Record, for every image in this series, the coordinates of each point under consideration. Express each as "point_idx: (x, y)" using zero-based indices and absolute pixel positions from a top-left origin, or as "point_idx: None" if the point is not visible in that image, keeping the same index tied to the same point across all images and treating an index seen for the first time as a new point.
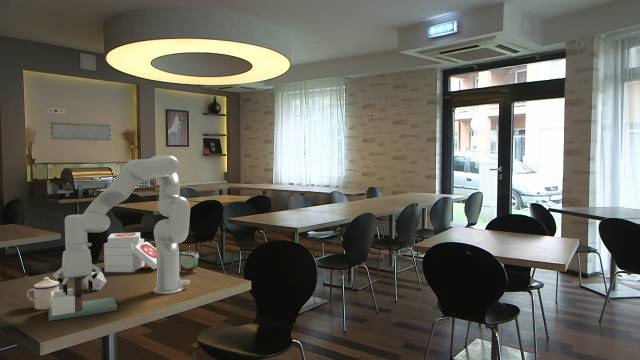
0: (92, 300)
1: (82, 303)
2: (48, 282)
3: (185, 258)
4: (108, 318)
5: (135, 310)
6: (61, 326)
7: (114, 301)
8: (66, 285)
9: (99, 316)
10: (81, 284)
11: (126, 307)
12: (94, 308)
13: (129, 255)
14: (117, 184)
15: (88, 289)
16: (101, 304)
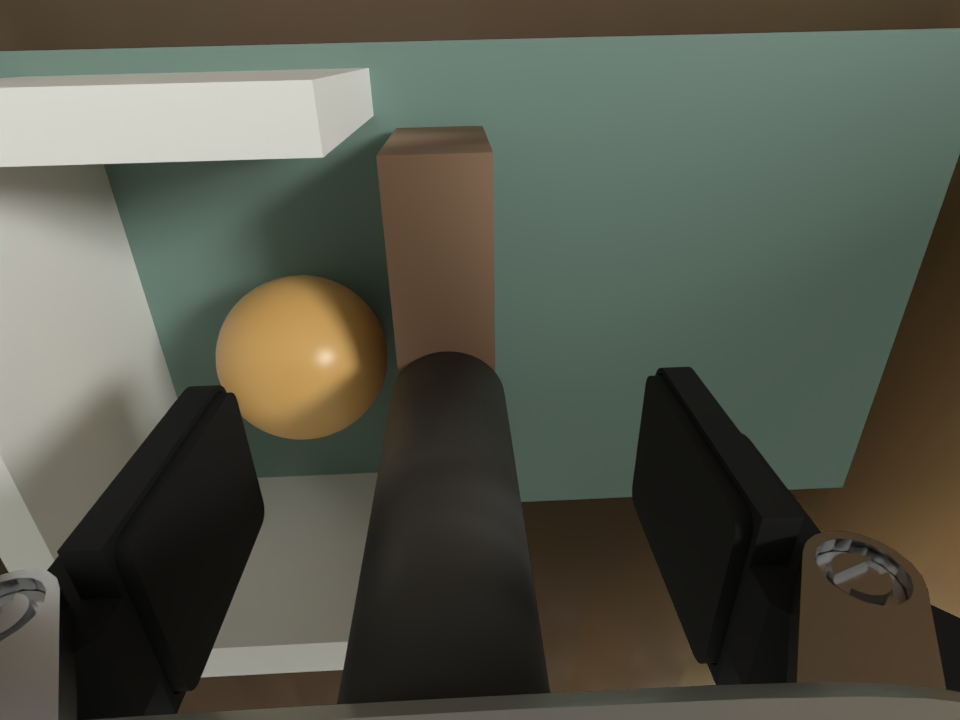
0: (668, 45)
1: (504, 153)
2: None
3: None
4: (675, 620)
5: (940, 533)
6: None
7: (906, 286)
8: (181, 692)
9: (623, 553)
10: (528, 563)
11: (929, 414)
12: (616, 456)
13: None
14: None
15: (648, 404)
16: (724, 343)
